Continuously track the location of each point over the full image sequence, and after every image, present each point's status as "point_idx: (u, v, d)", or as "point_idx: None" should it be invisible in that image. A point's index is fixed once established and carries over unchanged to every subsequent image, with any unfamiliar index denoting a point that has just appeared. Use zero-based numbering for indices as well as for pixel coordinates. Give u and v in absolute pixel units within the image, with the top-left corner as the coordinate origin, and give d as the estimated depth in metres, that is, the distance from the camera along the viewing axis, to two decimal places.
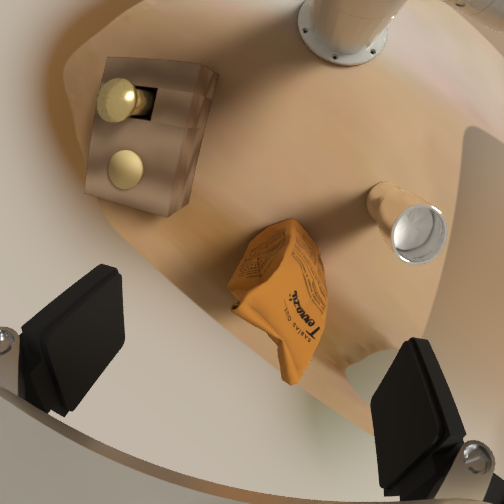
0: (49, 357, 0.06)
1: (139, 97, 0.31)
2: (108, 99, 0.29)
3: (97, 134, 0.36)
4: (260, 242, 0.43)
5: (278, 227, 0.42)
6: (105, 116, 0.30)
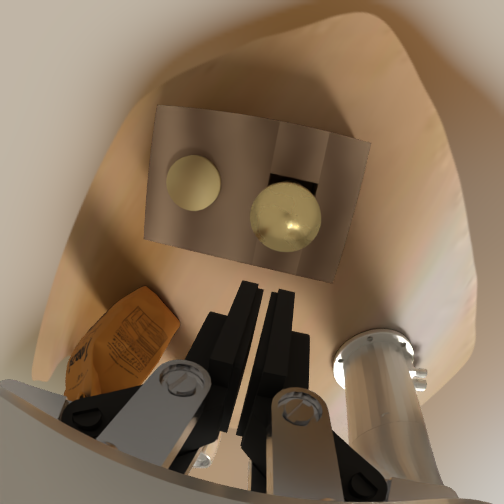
0: (234, 383, 0.07)
1: None
2: (288, 208, 0.22)
3: (245, 127, 0.26)
4: (148, 311, 0.40)
5: (166, 327, 0.41)
6: (260, 201, 0.22)
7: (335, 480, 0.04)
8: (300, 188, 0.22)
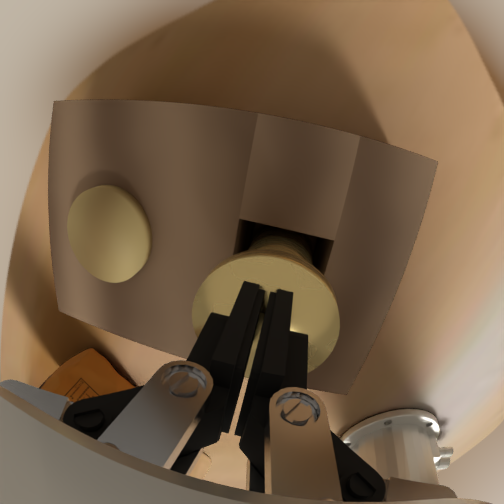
0: (236, 384, 0.07)
1: None
2: None
3: (190, 129, 0.13)
4: (94, 384, 0.27)
5: None
6: (210, 294, 0.10)
7: (333, 480, 0.04)
8: (297, 270, 0.10)
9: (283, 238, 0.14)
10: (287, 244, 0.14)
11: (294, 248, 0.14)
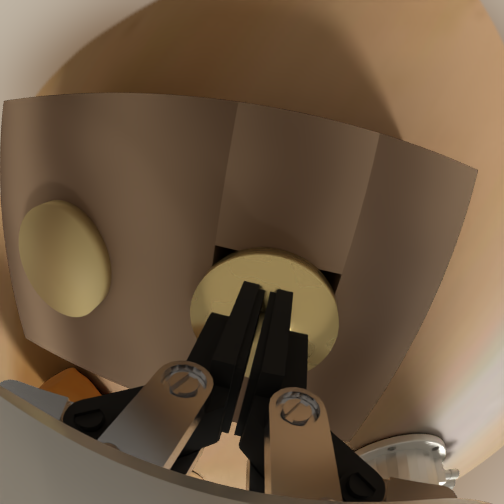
0: (236, 384, 0.07)
1: None
2: None
3: (149, 127, 0.09)
4: None
5: None
6: (208, 292, 0.10)
7: (333, 480, 0.04)
8: (296, 268, 0.10)
9: None
10: None
11: None
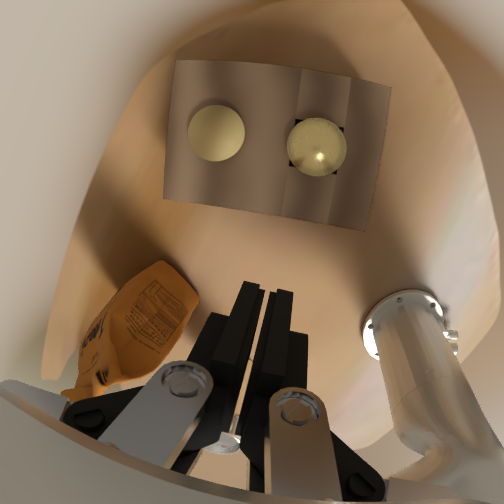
0: (236, 384, 0.07)
1: None
2: (319, 138, 0.25)
3: (268, 76, 0.24)
4: (166, 285, 0.39)
5: (186, 300, 0.39)
6: (295, 133, 0.25)
7: (333, 480, 0.04)
8: (327, 121, 0.24)
9: None
10: None
11: None
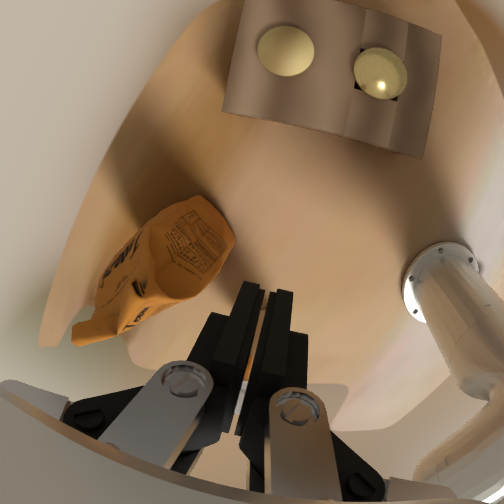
0: (236, 384, 0.07)
1: None
2: (383, 65, 0.23)
3: (336, 10, 0.22)
4: (204, 218, 0.36)
5: (225, 236, 0.37)
6: (362, 58, 0.23)
7: (333, 480, 0.04)
8: (390, 52, 0.22)
9: None
10: None
11: None
